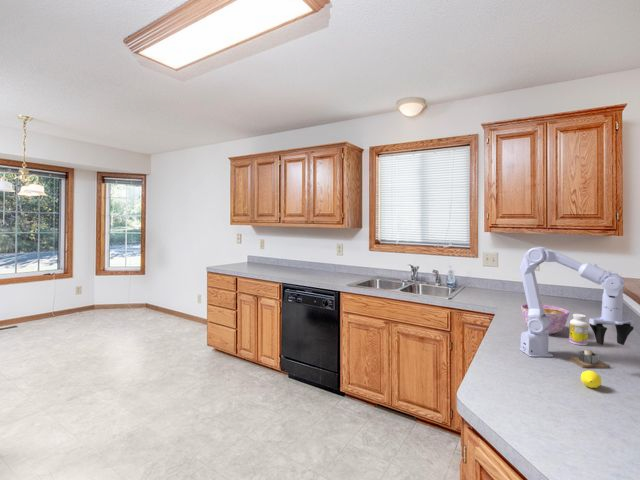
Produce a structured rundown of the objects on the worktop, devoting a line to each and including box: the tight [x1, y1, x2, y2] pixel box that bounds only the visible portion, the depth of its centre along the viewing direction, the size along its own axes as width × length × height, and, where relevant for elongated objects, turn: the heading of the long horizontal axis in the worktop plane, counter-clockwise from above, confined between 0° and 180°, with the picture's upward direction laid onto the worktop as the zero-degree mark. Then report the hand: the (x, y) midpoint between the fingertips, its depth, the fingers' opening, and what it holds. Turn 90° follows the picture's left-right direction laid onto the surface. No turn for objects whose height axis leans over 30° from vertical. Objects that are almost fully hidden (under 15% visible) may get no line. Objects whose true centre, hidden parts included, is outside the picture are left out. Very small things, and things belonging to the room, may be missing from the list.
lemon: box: [580, 369, 602, 389], centre depth 112 cm, size 7×5×5 cm
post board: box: [566, 349, 611, 369], centre depth 130 cm, size 10×8×5 cm
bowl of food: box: [520, 303, 570, 335], centre depth 168 cm, size 20×20×12 cm
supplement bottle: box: [568, 313, 589, 346], centre depth 152 cm, size 7×7×13 cm
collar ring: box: [578, 350, 599, 364], centre depth 130 cm, size 6×6×3 cm
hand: (610, 343), depth 124 cm, fingers open, 7 cm apart
